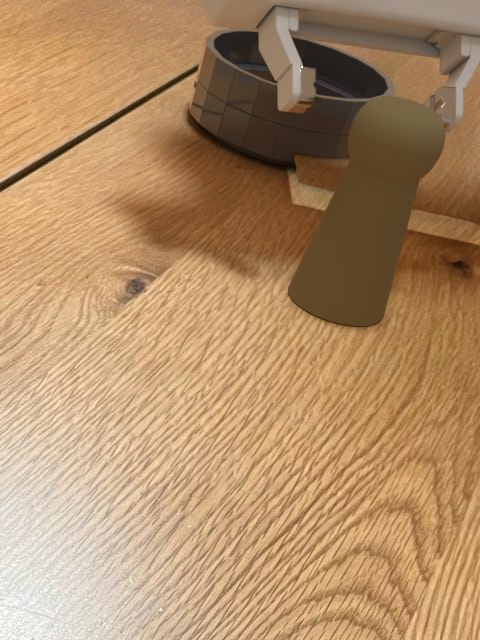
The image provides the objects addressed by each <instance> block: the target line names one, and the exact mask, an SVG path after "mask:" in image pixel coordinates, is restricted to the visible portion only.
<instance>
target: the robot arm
mask: <svg viewBox="0 0 480 640" xmlns="http://www.w3.org/2000/svg"><path fill="white" fill-rule="evenodd" d="M197 2H198V6H199V9H200V10H201V12H202V14H203V15H204V16H205V18H206V20H207V21H208V23H209V24H210V25H211V26H214V27H218V28H225V29H230V28H232V29H239V30H246V31H253V32H259V51H260V53H261V55H262V57H263V58H264V60H265V62H266V64H267V66H268V68H269V70H270V72H271V73H272V75H273V77H274V79H275V81H278V110H279V111H285V112H292V113H300V114H304V113H305V112H306V109H307V108H309V107H311V106H312V104H313V103H314V100H315V96H316V88H315V87H314V85H313V84H314V83H315V81H316V68H310V67H304V66H303V64H302V62H301V59H300V57H299V54H298V52H297V50H296V47H295V45H294V42H293V40H292V38H291V37H294V38H301V39H307V40H314V41H317V42H320V43H328V44H336V45H342V46H350V47H357V48H361V49H362V48H364V49H371V50H376V51H383V52H391V53H397V54H403V55H410V56H418V57H423V58H424V57H426V58H431V59H439V74H440V75H441V76H447V79H446V81H445V83H444V84H443V85H441V86H440V87H438V89H436V90H435V91H434V94H431V95H429V96H428V97H427V98H425V100H424V101H423V105H425V106H426V107H428V108H430V109H432V110H433V111H435V112H436V113H437V114H438V115H439V116H440V117H441V119H442V120H443V121H444V127H445V134H446V133H450V132H451V131H452V130H454V129H455V128H456V127H457V126H458V125H460V124H461V122H462V120H463V117H464V91H465V90H466V89H467V87H468V85H469V83H470V82H471V80H472V78H473V77H474V74H475V72H476V71H477V68H478V67H479V65H480V0H197Z"/></svg>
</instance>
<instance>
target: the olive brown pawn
mask: <svg viewBox="0 0 480 640" xmlns="http://www.w3.org/2000/svg"><path fill="white" fill-rule="evenodd" d="M446 137H447V135H446V132H445V127H444V121H443V120H442V119H441V117H440V116H439V115H438V114H437V113H436V112H435V111H433V110H432V109H430V108H428V107H426V106H425V105H424V104H422V103H420V102H419V101H415V100H412V99H409V98H404V97H400V96H394V97H392V96H381V97H376V98H373V99H370V100H369V101H368V102H367V103H366V104H365V105H364V106H363V107H362V108H361V109H360V110H359V111H358V113H357V114H356V116H355V118H354V119H353V122H352V125H351V128H350V131H349V139H348V150H349V154H350V157H349V161H348V163H347V165H346V167H345V168H344V171H343V174H341V177H340V179H339V181H338V183H337V185H336V187H335V190H334V192H333V194H332V196H331V198H330V200H329V202H328V204H327V206H326V208H325V210H324V212H323V214H322V216H321V218H320V220H319V222H318V225H317V226H316V229H315V231H314V233H313V235H312V236H311V239H310V241H309V243H308V245H307V247H306V250H305V252H304V253H303V256H302V258H301V259H300V261H299V264H298V266H297V268H296V270H295V272H294V274H293V276H292V278H291V280H290V283H289V284H288V286H287V294H288V296H289V297H290V299H291V301H292V302H294V304H296V305H297V306H298V307H299V308H300V309H302V310H304V311H306V312H307V313H309V314H311V315H313V316H314V317H318V318H319V319H323V320H325V321H328V322H330V323H335V324H339V325H344V326H350V327H371V326H374V325H377V324H379V323H380V322H382V320H383V319H384V317H385V314H386V310H387V306H388V302H389V298H390V294H391V291H392V287H393V284H394V279H395V275H396V272H397V268H398V265H399V264H398V263H399V260H400V256H401V253H402V250H403V245H404V243H405V237H406V233H407V231H408V227H409V222H410V218H411V215H412V211H413V207H414V203H415V200H416V196H417V192H418V188H419V184H420V181H421V180H422V179H423V178H424V177H425V176H426V175H428V174H429V173H431V171H432V170H433V168H434V167H435V165H436V164H437V162H438V161H439V160H440V157H441V156H442V153H443V151H444V148H445V143H446V142H445V141H446Z"/></svg>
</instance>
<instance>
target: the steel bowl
mask: <svg viewBox="0 0 480 640" xmlns="http://www.w3.org/2000/svg"><path fill="white" fill-rule="evenodd" d="M291 38H292V40H293V42H294V45H295V47H296V50H297V52H298V54H299V57H300V59H301V62H302V64H303V66H304V67H310V68H316V81H315V83H314V84H313V85H314V87H315V88H316V96H315V100H314V103H313V104H312V106H311V107H309V108H307V109H306V112H305V113H304V114H300V113H292V112H285V111H279V110H278V81H275V79H274V77H273V75H272V73H271V72H270V70H269V68H268V66H267V64H266V62H265V60H264V58H263V57H262V55H261V53H260V51H259V32H253V31H246V30H239V29H232V28H225V29H220V30H215V31H213V32H211V34H209V35H208V36H206V38H205V40H204V44H203V48H202V52H201V55H200V59H199V63H198V67H197V72H196V75H195V79H194V83H193V87H192V91H191V95H190V99H189V113H190V115H191V116H192V117H193V119H194V120H195V121H196V122H197V123H198V125H200V126H201V127H202V128H203V129H204V130H205V131H206V132H207V133H208V134H209V135H210V136H212V137H213V138H214V139H215V140H217V141H218V142H220V143H222V144H224V145H225V146H227V147H229V148H231V149H233V150H235V151H237V152H239V153H241V154H243V155H246V156H249V157H252V158H255V159H258V160H260V161H264V162H268V163H271V164H274V165H278V166H283V167H288V168H293V169H297V163H296V158H295V153H296V154H299V155H305V156H311V157H321V158H330V159H338V158H339V159H341V158H342V159H343V158H350V154H349V150H348V139H349V131H350V128H351V125H352V122H353V119H354V118H355V116H356V114H357V113H358V111H359V110H360V109H361V108H362V107H363V106H364V105H365V104H366V103H367V102H368V101H369V100H370V99H373V98H376V97H381V96H392V97H395V94H396V91H397V89H396V87H395V84H394V81H393V79H391V78H390V77H389V76H388V75H387V74H386V73H385V72H384V71H382V69H381V68H379V67H377V66H375V65H373V64H372V63H370V62H369V61H367V60H365V59H363V58H362V57H360V56H357V55H355V54H352V53H349V52H347V51H345V50H343V49H340V48H338V47H335V46H332V45H330V44H326V43H324V42H321V41H314V40H307V39H301V38H294V37H291Z"/></svg>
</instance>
